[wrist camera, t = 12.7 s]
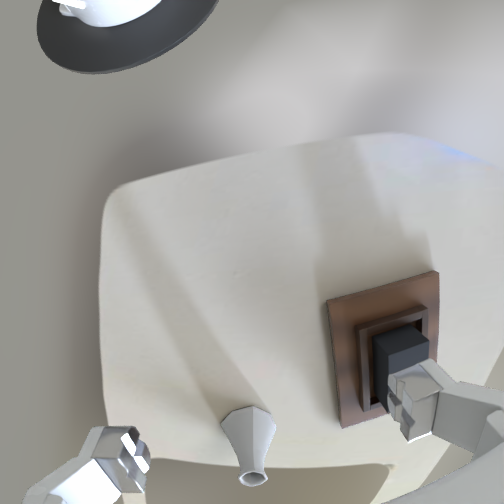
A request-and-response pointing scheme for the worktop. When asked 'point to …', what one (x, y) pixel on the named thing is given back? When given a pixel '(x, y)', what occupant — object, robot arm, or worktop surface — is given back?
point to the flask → (250, 441)
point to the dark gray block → (395, 356)
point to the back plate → (372, 323)
